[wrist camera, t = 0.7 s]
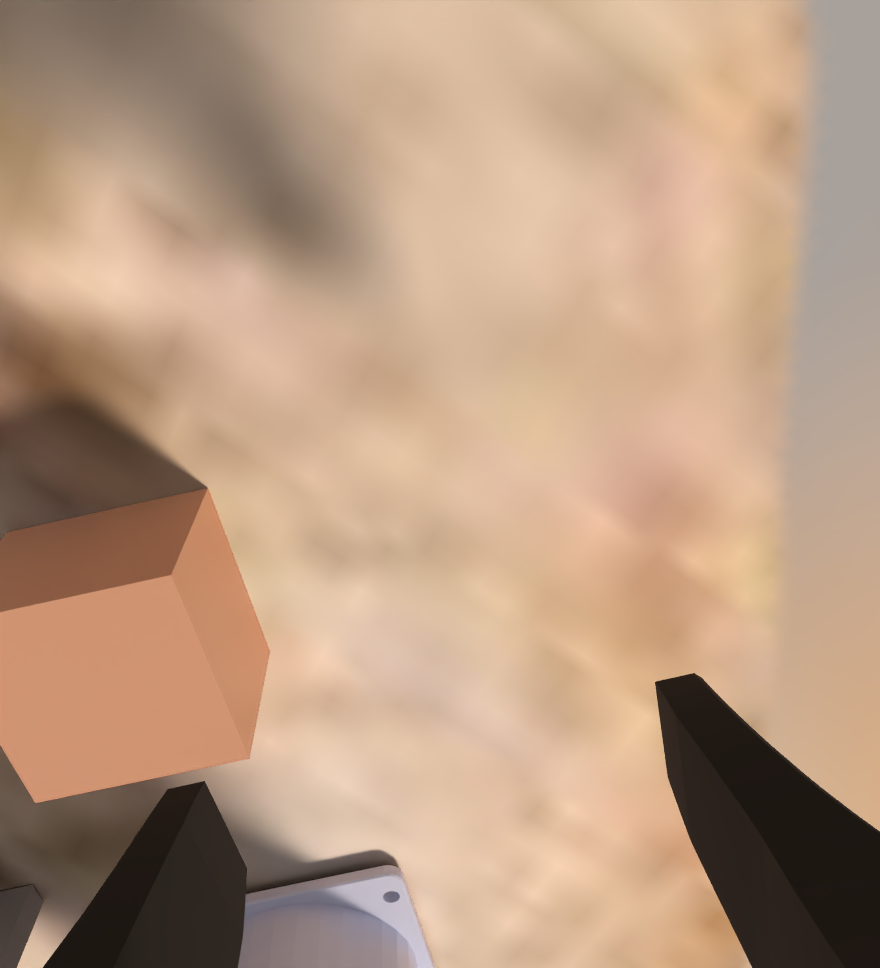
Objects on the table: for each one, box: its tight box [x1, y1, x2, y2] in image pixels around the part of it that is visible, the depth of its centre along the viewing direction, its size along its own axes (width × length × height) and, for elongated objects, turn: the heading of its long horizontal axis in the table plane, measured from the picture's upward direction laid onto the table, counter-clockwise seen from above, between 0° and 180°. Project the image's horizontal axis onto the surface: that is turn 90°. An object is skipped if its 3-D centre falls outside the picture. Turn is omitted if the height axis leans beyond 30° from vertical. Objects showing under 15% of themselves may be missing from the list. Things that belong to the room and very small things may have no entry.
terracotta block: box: [0, 488, 270, 803], centre depth 19 cm, size 5×5×4 cm
